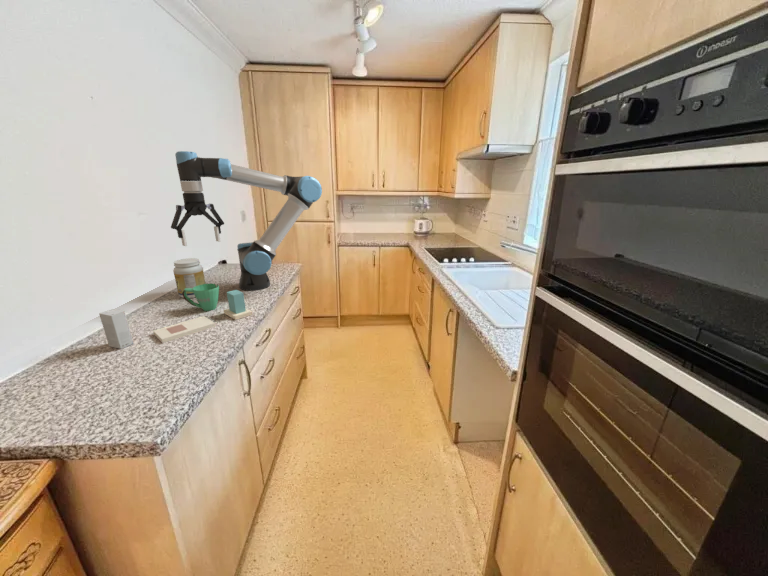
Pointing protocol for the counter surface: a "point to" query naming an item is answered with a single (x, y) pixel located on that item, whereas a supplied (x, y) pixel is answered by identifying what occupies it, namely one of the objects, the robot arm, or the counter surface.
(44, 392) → the counter surface
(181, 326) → the ticket
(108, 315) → the skincare box
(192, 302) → the mug
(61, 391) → the counter surface
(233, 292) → the stub
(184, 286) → the supplement tub
